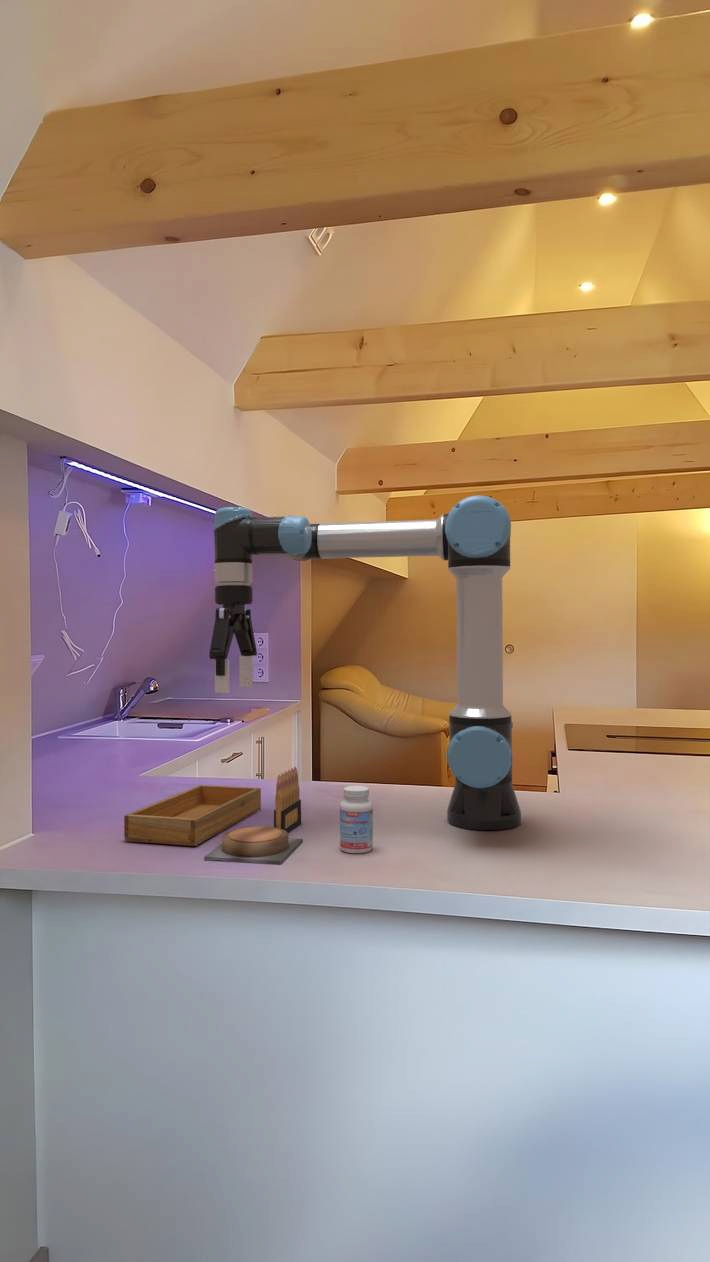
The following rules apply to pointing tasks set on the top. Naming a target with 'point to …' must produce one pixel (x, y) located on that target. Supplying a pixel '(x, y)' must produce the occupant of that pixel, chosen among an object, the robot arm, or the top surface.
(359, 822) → the pill bottle
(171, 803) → the tray
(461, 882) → the top surface
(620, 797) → the top surface
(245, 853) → the plinth
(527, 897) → the top surface
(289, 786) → the colored pencil set
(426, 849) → the top surface
